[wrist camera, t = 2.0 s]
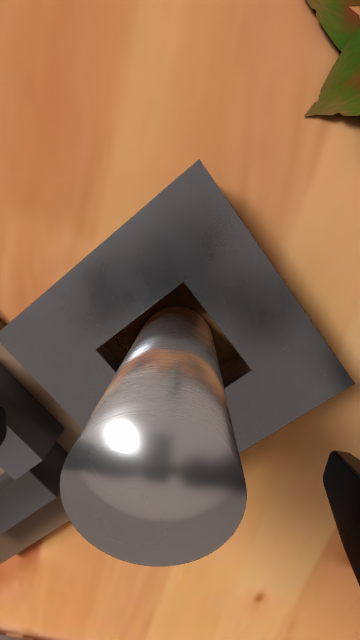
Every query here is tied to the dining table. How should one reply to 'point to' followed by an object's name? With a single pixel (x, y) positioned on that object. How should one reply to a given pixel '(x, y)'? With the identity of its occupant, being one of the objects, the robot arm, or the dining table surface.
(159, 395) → the steel peg
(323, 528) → the dining table surface
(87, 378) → the socket block
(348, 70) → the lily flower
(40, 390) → the rack board
